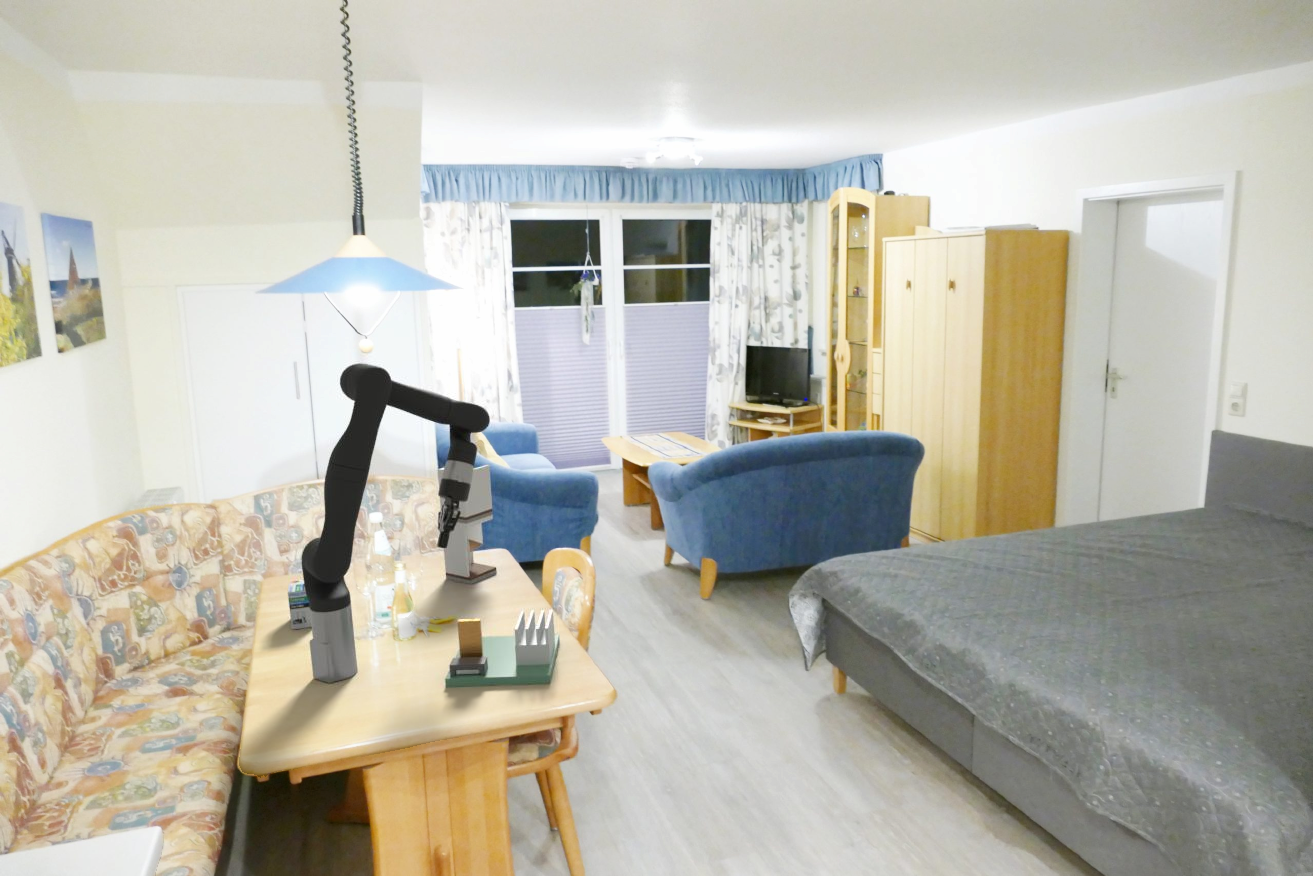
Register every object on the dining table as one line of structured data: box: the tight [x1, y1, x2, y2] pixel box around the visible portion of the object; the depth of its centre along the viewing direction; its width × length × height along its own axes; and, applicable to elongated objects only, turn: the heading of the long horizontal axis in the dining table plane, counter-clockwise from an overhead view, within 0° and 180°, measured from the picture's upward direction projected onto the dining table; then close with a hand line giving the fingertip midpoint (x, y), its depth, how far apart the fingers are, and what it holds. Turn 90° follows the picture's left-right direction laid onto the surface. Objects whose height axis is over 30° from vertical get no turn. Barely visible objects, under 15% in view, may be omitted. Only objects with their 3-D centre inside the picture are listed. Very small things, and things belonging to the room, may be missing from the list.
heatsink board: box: [444, 609, 561, 688], centre depth 220 cm, size 24×24×11 cm
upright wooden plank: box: [456, 618, 483, 674], centre depth 213 cm, size 6×5×11 cm
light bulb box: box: [287, 578, 312, 630], centre depth 251 cm, size 11×7×11 cm, turn 19°
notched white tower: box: [437, 464, 498, 585], centre depth 283 cm, size 11×11×35 cm
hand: (441, 547), depth 229 cm, fingers closed
